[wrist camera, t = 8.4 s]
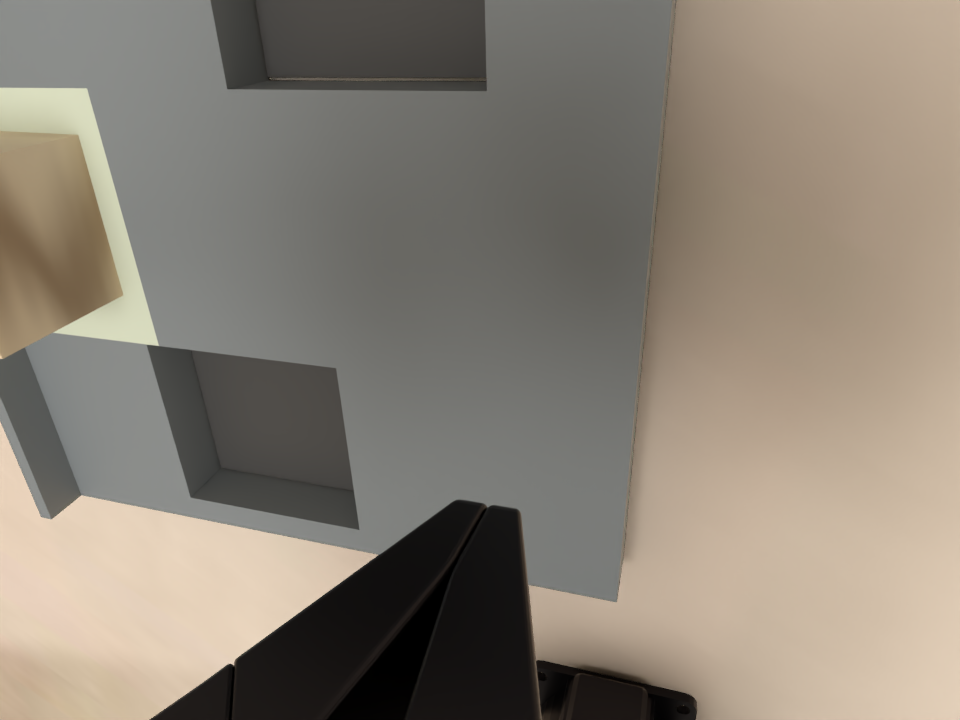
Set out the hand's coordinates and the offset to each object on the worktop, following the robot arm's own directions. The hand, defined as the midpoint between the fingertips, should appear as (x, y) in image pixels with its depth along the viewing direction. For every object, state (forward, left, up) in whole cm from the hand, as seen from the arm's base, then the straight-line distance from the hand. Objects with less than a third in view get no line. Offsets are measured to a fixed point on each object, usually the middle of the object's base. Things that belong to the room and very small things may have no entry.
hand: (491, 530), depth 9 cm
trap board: (0, +10, -12) cm, 15 cm away
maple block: (0, +18, -10) cm, 20 cm away
